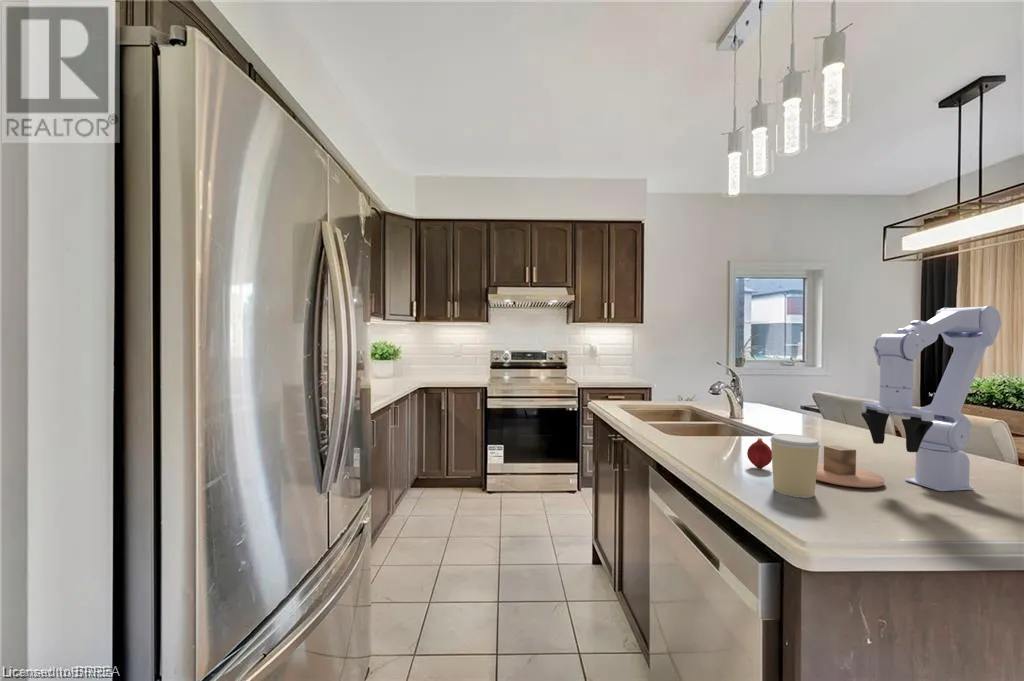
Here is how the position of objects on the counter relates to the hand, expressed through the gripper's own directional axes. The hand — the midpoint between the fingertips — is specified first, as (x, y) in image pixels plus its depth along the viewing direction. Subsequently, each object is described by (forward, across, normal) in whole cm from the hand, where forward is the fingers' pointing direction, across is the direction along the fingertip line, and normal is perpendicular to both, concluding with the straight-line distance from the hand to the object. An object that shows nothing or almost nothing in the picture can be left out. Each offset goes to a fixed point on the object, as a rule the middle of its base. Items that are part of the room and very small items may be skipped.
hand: (894, 447), depth 102 cm
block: (+8, -10, -4) cm, 14 cm away
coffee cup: (+10, -3, -23) cm, 25 cm away
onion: (+10, -20, -18) cm, 29 cm away
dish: (+10, -10, -4) cm, 15 cm away
